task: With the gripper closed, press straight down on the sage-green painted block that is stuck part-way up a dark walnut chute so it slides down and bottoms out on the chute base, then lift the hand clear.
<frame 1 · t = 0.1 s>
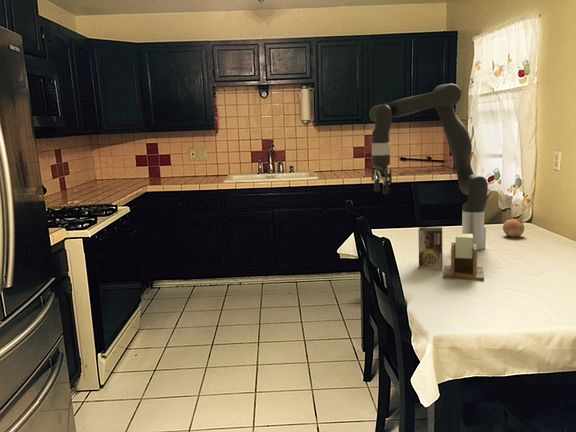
hand: (381, 192, 201), 29 cm above the table, fingers open, 8 cm apart
chute: (463, 273, 182), on the table
onion: (513, 237, 234), on the table
coffee box: (430, 268, 191), on the table
block: (463, 245, 180), point 11 cm above the table, slide at 0.0 cm
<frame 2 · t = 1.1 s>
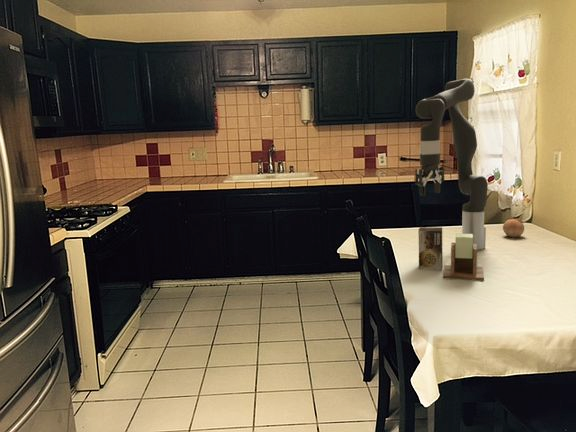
hand: (429, 194, 186), 30 cm above the table, fingers open, 8 cm apart
nothing on the table moved.
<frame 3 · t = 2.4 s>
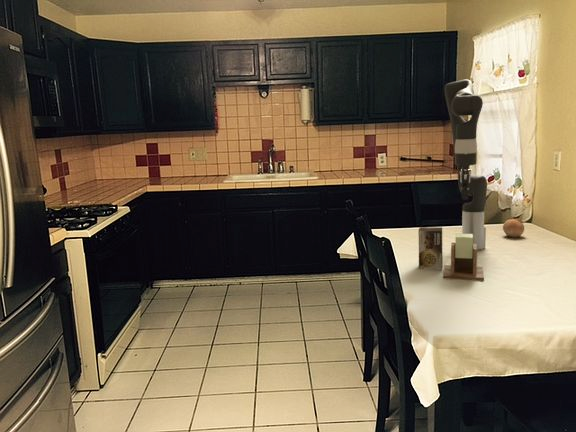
hand: (464, 198, 176), 29 cm above the table, fingers closed
nothing on the table moved.
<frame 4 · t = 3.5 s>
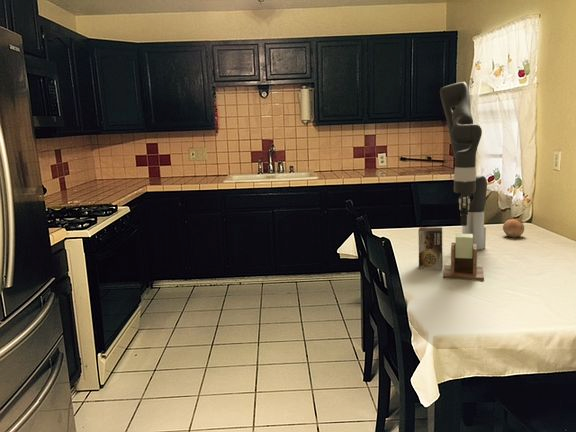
hand: (463, 225, 178), 19 cm above the table, fingers closed
nothing on the table moved.
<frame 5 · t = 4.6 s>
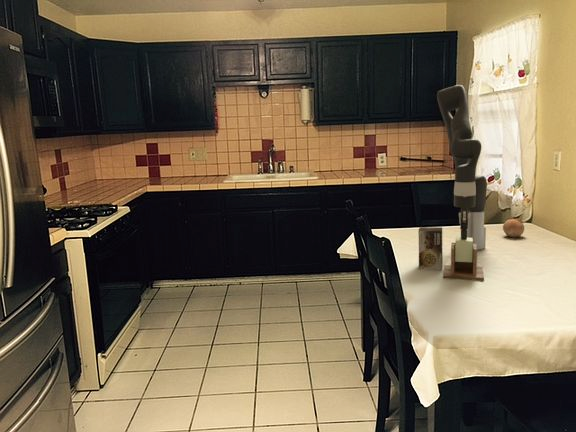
hand: (463, 239, 179), 14 cm above the table, fingers closed
block: (463, 249, 180), point 10 cm above the table, slide at -1.5 cm, touching gripper
everything else where it was.
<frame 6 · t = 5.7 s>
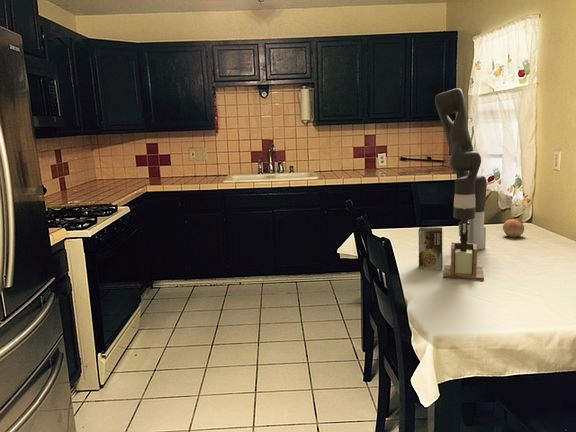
hand: (463, 250, 180), 9 cm above the table, fingers closed
block: (463, 261, 181), point 5 cm above the table, slide at -6.0 cm, touching gripper
everything else where it was.
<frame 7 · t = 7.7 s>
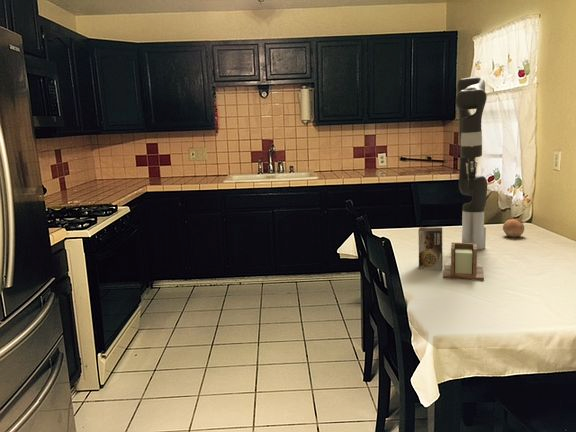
hand: (471, 189, 183), 31 cm above the table, fingers closed
block: (463, 261, 181), point 5 cm above the table, slide at -6.0 cm
everything else where it was.
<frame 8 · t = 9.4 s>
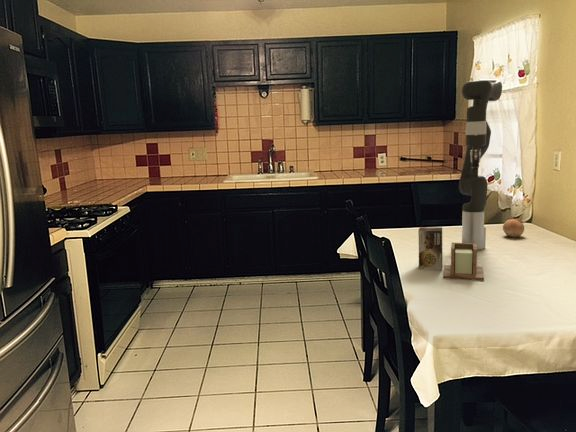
hand: (474, 177, 189), 35 cm above the table, fingers closed
nothing on the table moved.
at the end: block slide at -6.0 cm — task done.
